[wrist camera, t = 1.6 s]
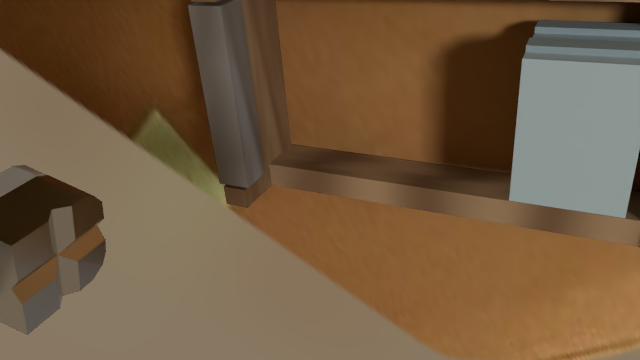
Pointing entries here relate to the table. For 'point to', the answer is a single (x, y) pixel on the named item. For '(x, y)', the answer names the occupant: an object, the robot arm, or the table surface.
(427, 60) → the table surface
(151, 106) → the table surface
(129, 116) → the table surface
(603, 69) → the grey boxy piece
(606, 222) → the bay
